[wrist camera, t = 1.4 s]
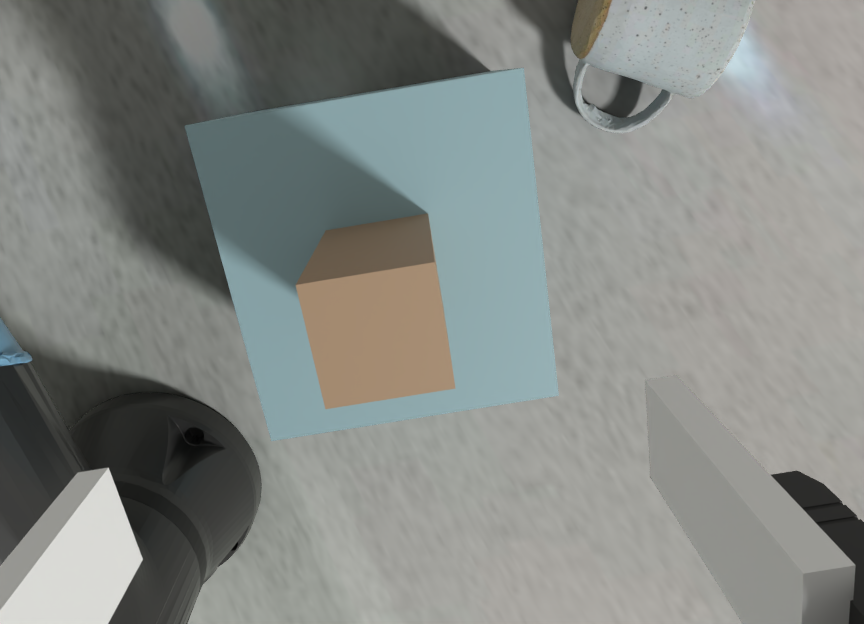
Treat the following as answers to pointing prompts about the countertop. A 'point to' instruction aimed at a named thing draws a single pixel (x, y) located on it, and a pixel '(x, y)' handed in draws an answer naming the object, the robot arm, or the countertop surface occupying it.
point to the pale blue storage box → (383, 251)
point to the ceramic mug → (655, 48)
